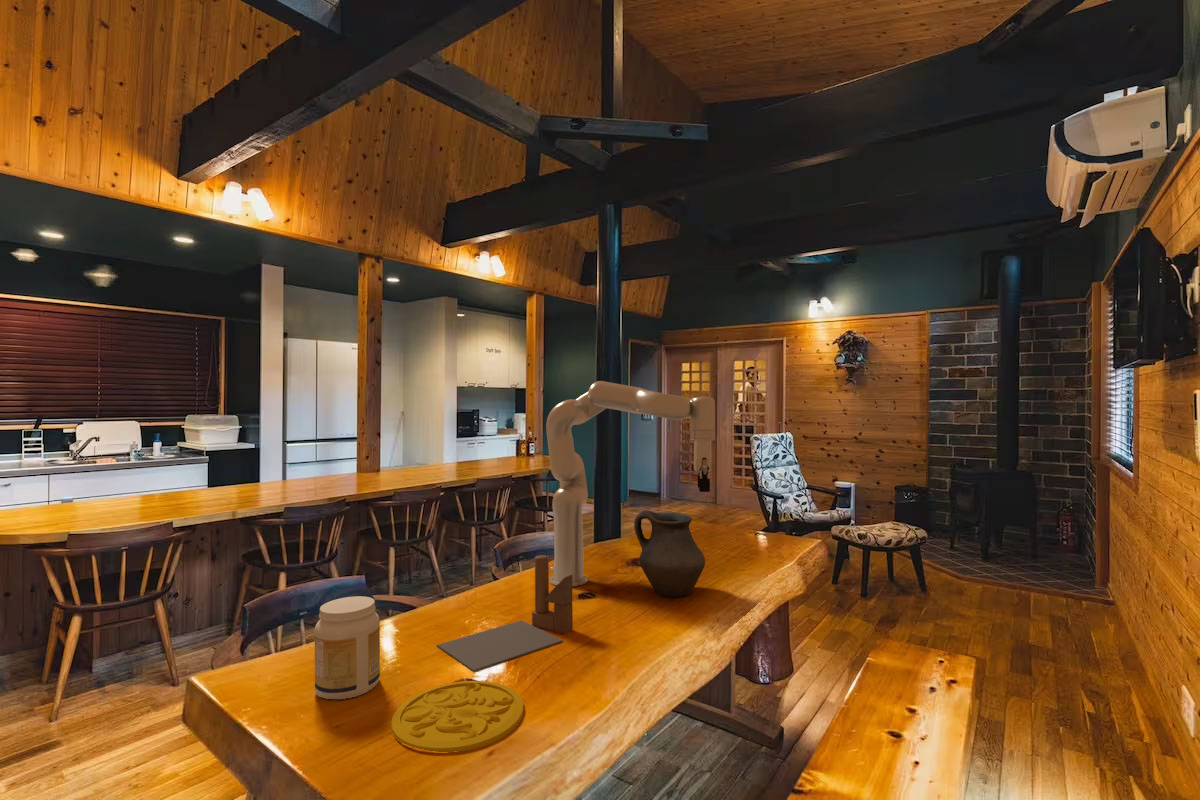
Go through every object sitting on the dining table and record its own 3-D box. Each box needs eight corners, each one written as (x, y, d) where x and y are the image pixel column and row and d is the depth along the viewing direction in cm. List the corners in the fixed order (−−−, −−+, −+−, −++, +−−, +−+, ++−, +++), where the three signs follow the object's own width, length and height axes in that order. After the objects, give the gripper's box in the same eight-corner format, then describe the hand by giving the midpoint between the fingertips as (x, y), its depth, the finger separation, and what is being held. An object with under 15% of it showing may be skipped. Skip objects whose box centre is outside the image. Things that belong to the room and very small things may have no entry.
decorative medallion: (445, 679, 120) (445, 669, 120) (545, 698, 112) (545, 688, 112) (361, 739, 98) (361, 727, 98) (477, 768, 90) (477, 756, 90)
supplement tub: (361, 668, 124) (361, 590, 125) (391, 685, 117) (391, 601, 117) (303, 690, 115) (303, 605, 115) (331, 709, 107) (332, 618, 108)
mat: (436, 646, 136) (436, 644, 136) (521, 621, 152) (521, 620, 152) (473, 672, 122) (473, 670, 122) (562, 641, 138) (562, 640, 138)
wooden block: (564, 634, 143) (564, 562, 143) (531, 626, 148) (531, 556, 149) (573, 629, 146) (572, 559, 146) (540, 621, 152) (540, 554, 152)
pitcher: (704, 605, 163) (703, 518, 164) (629, 601, 167) (629, 516, 168) (706, 584, 183) (705, 506, 184) (639, 581, 187) (638, 505, 188)
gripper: (690, 434, 190) (690, 486, 189) (692, 436, 173) (692, 493, 172) (712, 434, 189) (713, 486, 189) (717, 436, 172) (718, 493, 171)
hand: (703, 489), depth 180 cm, fingers open, 9 cm apart
